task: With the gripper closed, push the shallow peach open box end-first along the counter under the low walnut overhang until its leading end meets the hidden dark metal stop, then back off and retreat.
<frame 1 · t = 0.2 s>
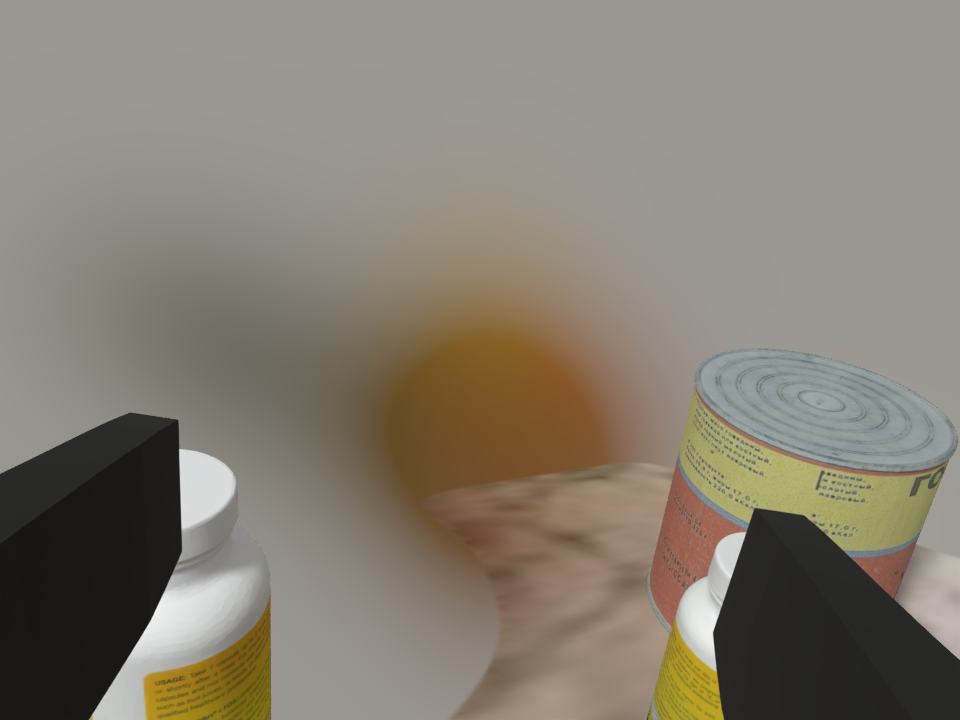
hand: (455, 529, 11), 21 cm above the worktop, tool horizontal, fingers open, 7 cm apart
canned food: (756, 610, 43), on the worktop
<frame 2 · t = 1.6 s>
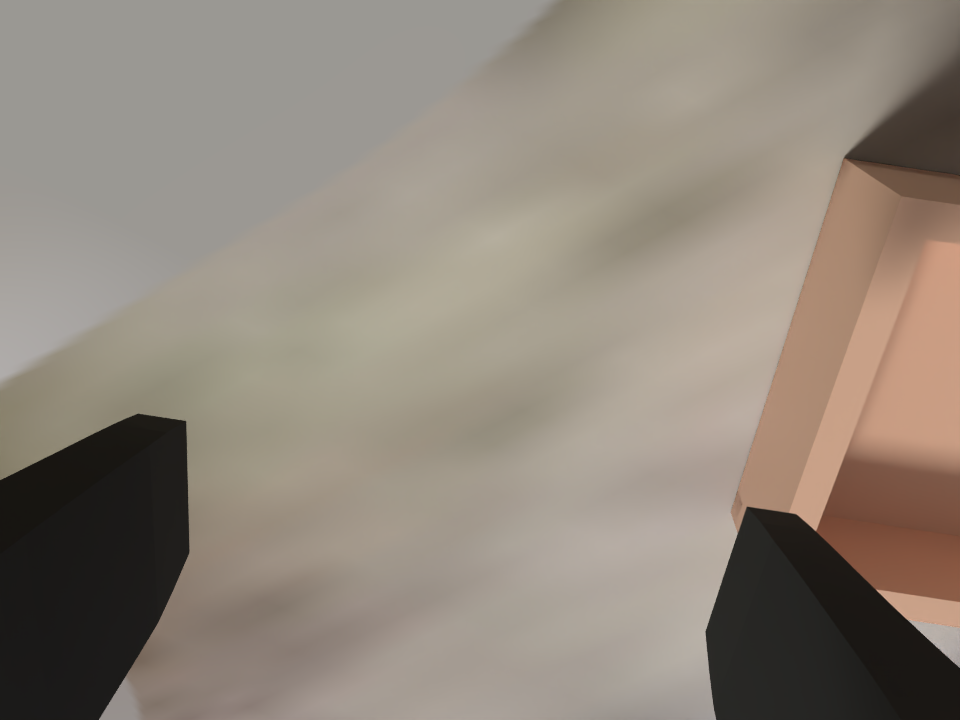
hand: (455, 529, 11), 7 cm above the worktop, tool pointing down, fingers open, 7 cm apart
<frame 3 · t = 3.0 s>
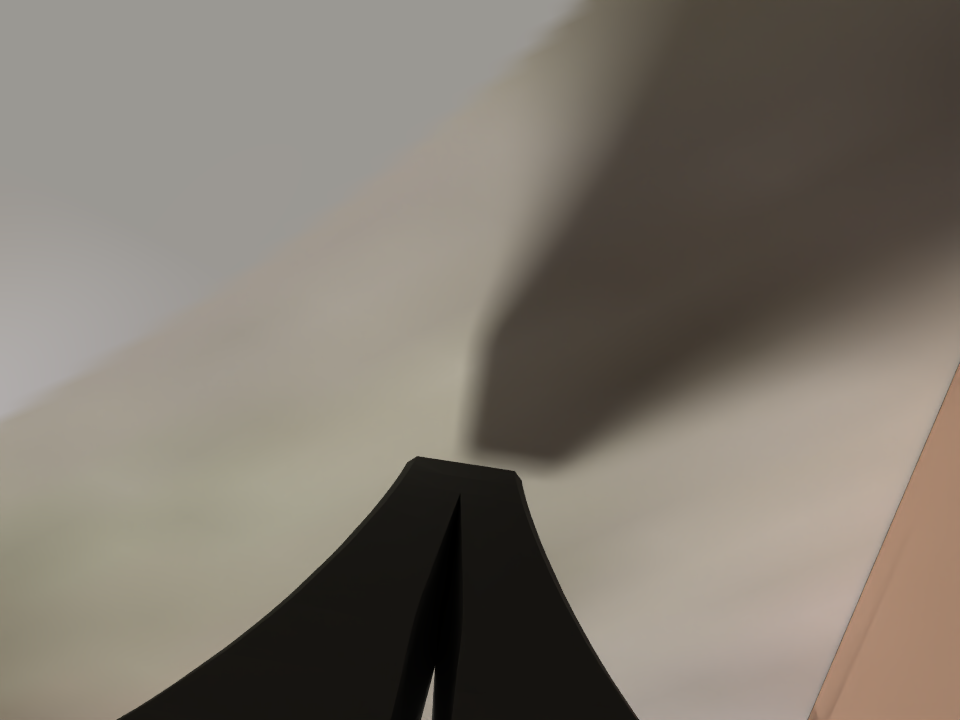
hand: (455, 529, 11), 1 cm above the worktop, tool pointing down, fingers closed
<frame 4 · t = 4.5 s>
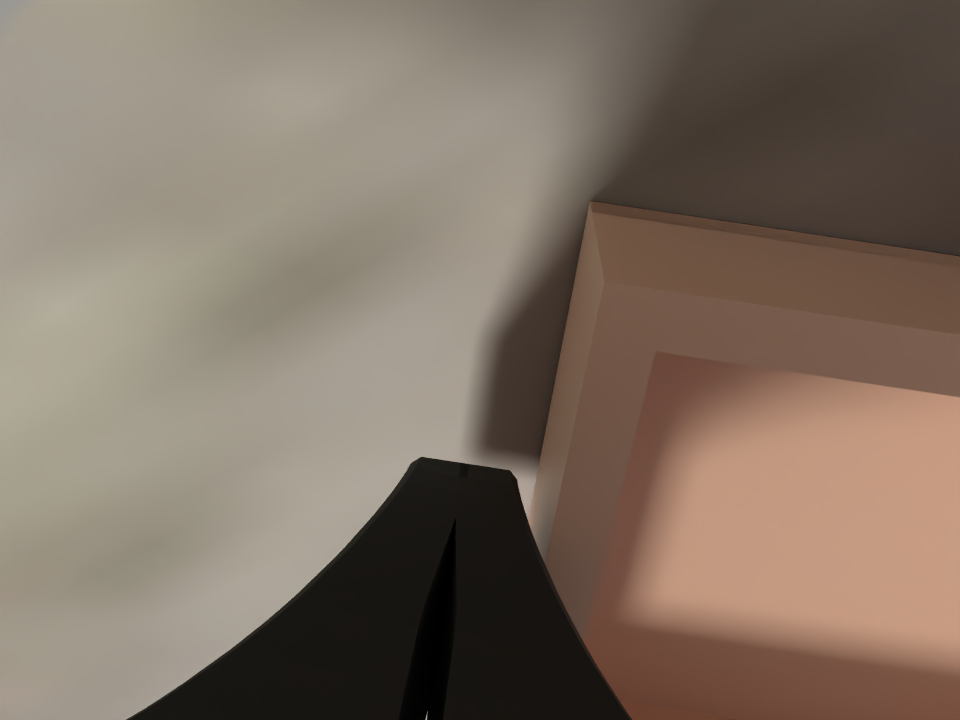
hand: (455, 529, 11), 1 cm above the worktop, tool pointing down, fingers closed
peach open box: (890, 532, 12), on the worktop, touching gripper
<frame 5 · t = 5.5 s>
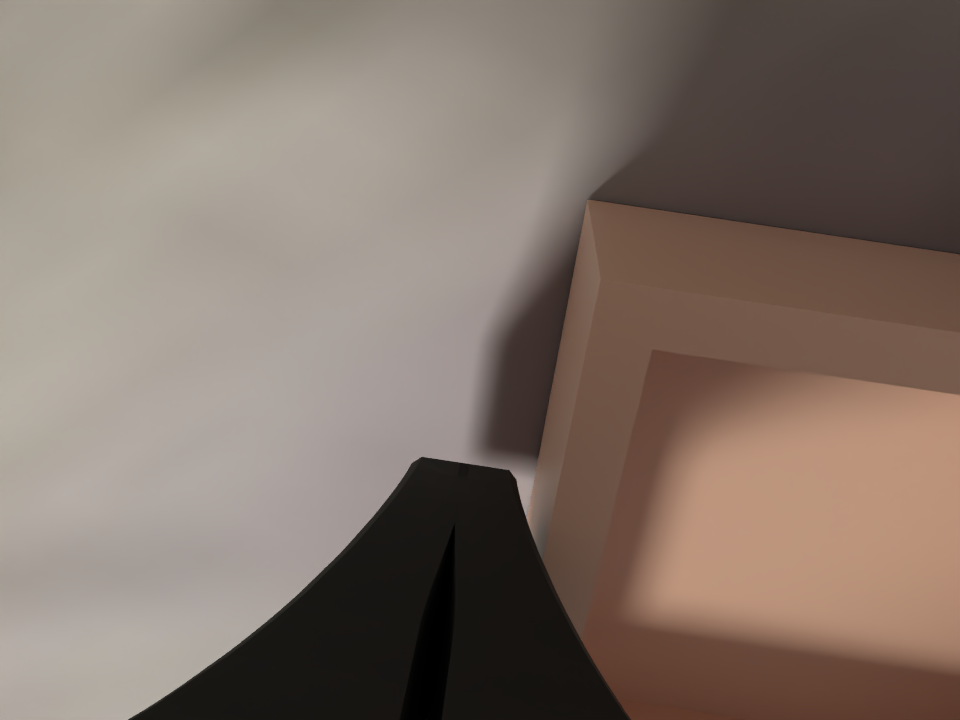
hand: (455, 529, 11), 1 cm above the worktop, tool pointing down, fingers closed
peach open box: (888, 530, 12), on the worktop, touching gripper
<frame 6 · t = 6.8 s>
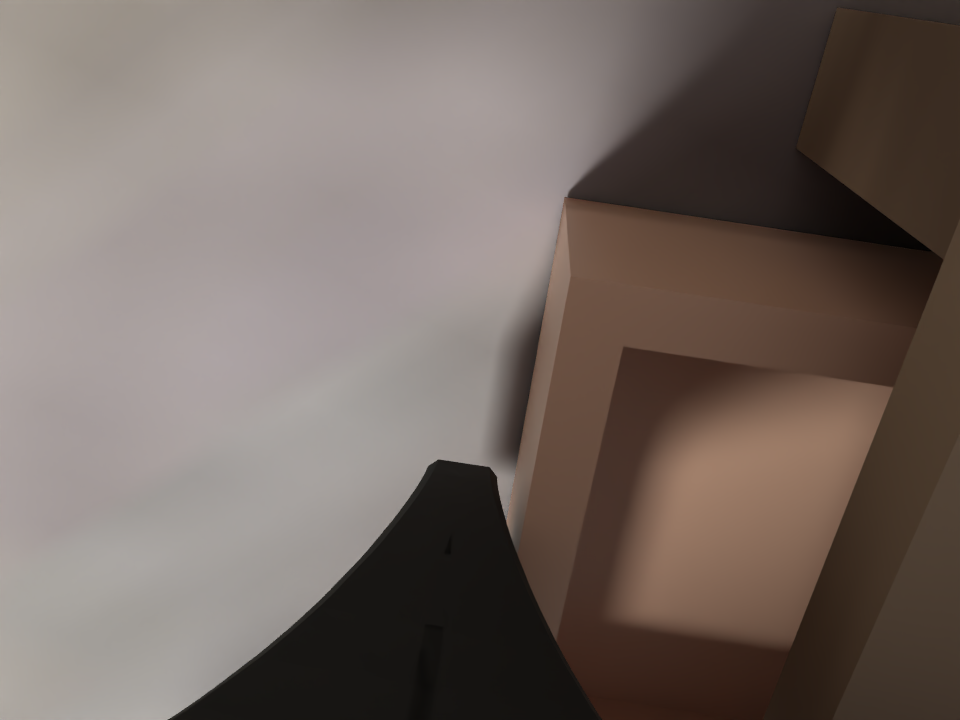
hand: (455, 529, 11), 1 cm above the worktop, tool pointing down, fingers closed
peach open box: (868, 529, 12), on the worktop, touching gripper, overhang
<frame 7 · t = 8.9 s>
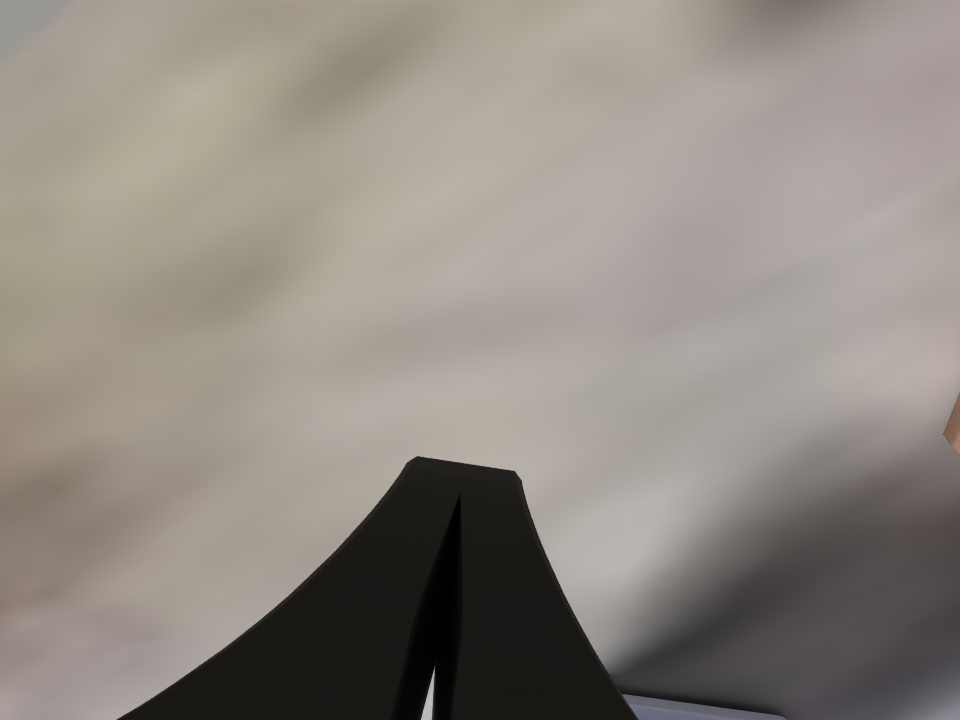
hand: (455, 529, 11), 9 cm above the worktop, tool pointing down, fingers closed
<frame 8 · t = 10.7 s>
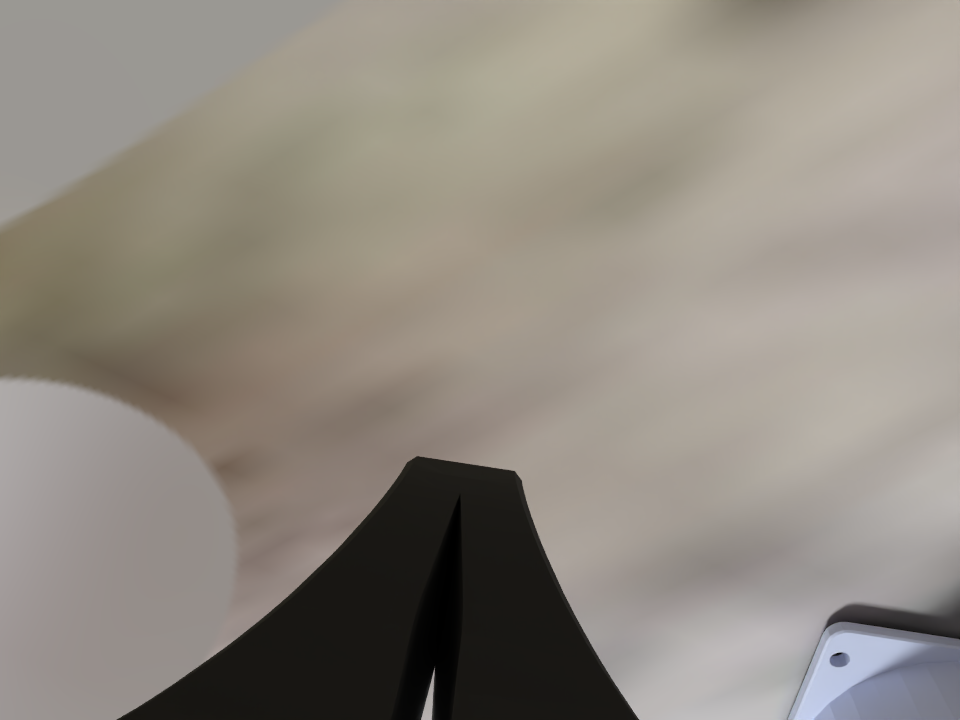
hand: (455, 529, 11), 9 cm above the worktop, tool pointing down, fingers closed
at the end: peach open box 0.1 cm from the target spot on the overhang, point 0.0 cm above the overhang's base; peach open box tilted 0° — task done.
